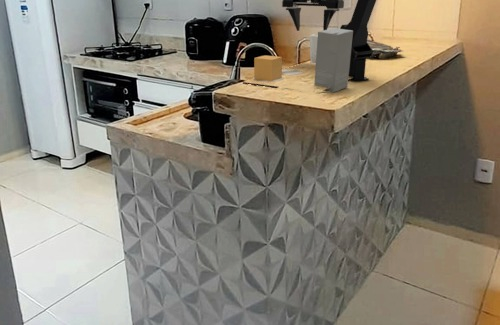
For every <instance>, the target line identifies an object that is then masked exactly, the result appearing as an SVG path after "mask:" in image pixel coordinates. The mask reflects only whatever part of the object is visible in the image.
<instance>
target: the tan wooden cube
mask: <svg viewBox="0 0 500 325" xmlns="http://www.w3.org/2000/svg"><path fill="white" fill-rule="evenodd" d="M253 62H254V63H253V66H254V73H253V74H254V76H253V78H254V79H258V80H266V81H274V80H277V79H280V78H282V77H283V75H282V70H283V56H275V55H267V54H265V55H260V56H257V57H254V60H253Z"/></svg>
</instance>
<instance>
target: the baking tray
mask: <svg viewBox="0 0 500 325" xmlns="http://www.w3.org/2000/svg"><path fill="white" fill-rule="evenodd" d="M367 43H368V44H369V46H370V47H371V49H372V50H373V54H372V57H371V58H378V59H387V58H391V57H393V56H396V55H397V54H398V53H402V52H403V50H402V49H400V46H395V48H394V47H393V46H391V45H389V44H385V43H383V42H379V41H374V40H371V39H367ZM356 53H357V52H356Z"/></svg>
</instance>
